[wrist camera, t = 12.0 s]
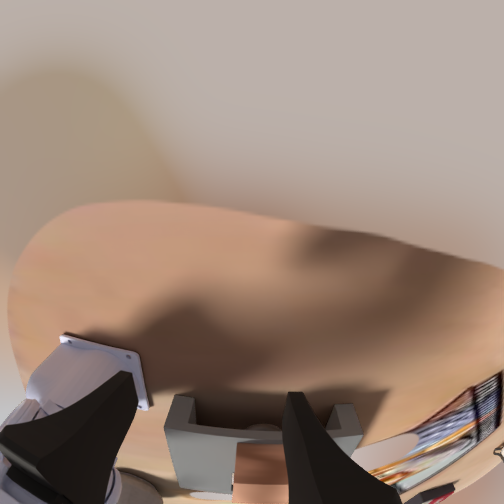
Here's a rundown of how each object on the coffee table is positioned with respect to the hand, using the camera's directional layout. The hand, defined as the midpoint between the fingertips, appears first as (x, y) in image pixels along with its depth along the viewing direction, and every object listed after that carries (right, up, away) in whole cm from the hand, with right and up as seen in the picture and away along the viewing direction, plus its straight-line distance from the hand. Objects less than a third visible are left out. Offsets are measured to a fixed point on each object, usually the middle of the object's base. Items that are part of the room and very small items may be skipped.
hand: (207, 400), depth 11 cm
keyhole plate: (+3, -15, +15) cm, 21 cm away
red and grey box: (+46, -56, +26) cm, 77 cm away
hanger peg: (+3, -12, +12) cm, 17 cm away
